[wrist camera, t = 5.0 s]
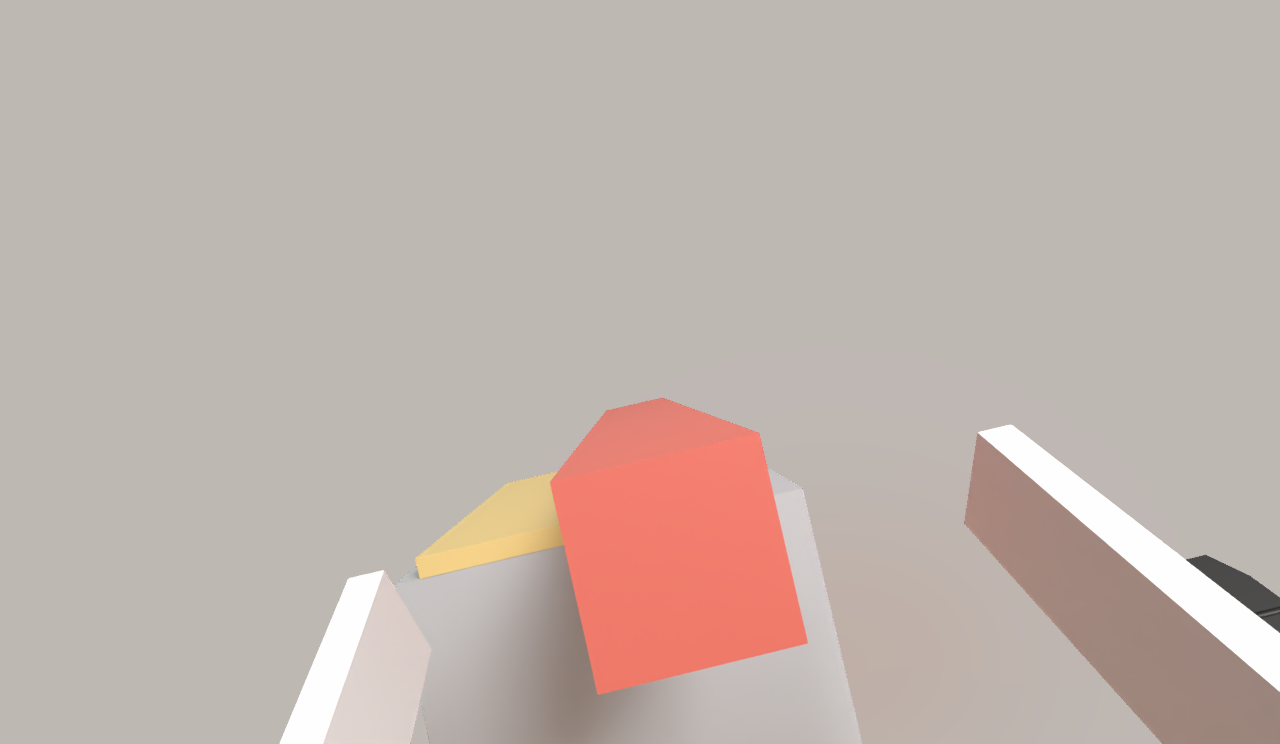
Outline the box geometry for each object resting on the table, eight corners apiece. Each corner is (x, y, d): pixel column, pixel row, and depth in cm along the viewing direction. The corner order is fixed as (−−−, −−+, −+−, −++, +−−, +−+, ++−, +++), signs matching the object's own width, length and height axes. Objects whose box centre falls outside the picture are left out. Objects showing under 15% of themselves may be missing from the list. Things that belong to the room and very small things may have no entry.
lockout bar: (808, 643, 10) (759, 433, 10) (597, 695, 10) (549, 482, 10) (675, 454, 38) (662, 397, 38) (619, 467, 38) (606, 410, 38)
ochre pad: (574, 542, 21) (569, 522, 21) (419, 579, 21) (415, 558, 21) (597, 474, 37) (594, 462, 37) (509, 494, 37) (506, 483, 37)
